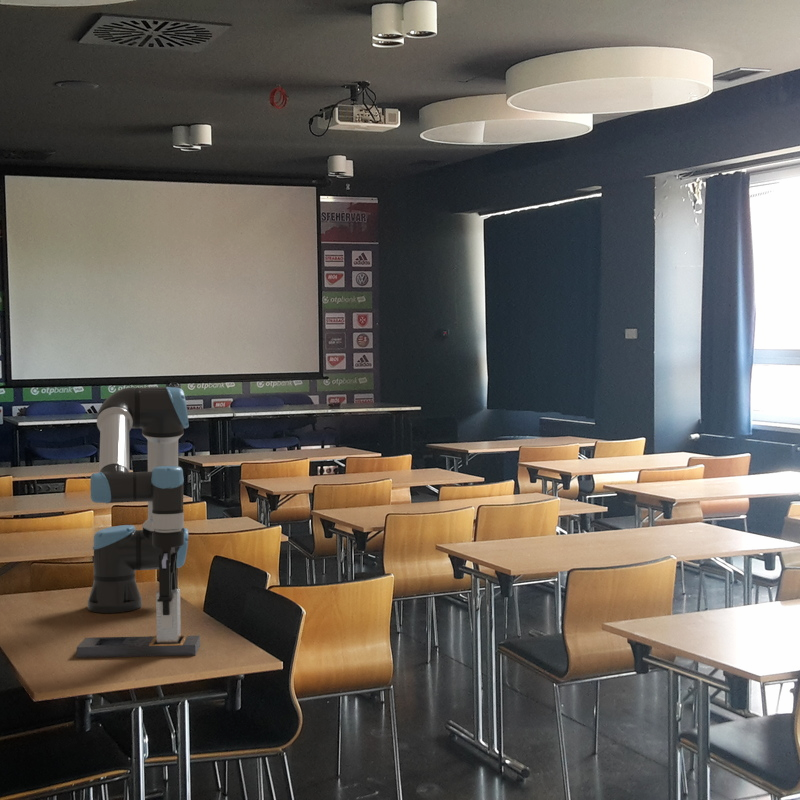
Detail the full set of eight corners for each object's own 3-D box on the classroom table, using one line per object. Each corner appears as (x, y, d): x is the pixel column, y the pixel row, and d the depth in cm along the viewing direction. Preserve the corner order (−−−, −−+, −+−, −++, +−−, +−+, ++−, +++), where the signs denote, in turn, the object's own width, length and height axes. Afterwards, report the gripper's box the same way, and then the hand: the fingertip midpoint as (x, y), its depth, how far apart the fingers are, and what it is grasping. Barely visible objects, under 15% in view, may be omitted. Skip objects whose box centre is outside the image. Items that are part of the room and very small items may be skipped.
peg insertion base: (85, 647, 255) (85, 636, 255) (200, 645, 257) (200, 634, 257) (76, 657, 246) (76, 646, 246) (195, 655, 248) (195, 644, 248)
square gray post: (160, 637, 254) (159, 589, 254) (180, 637, 255) (180, 588, 254) (156, 643, 249) (156, 593, 249) (177, 642, 250) (177, 593, 250)
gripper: (158, 524, 260) (159, 616, 261) (145, 535, 242) (146, 634, 243) (188, 524, 261) (189, 616, 261) (178, 535, 243) (178, 633, 243)
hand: (168, 624), depth 252 cm, fingers closed on square gray post, 5 cm apart
